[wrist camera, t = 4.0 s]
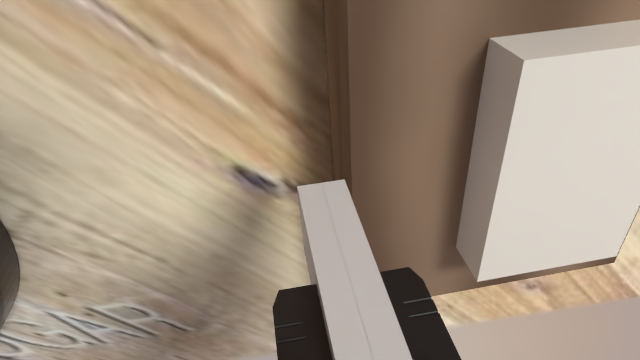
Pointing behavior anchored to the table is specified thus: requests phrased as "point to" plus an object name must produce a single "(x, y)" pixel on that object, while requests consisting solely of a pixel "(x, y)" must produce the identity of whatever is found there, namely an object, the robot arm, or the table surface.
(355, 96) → the serving board
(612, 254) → the tile
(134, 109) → the table surface
